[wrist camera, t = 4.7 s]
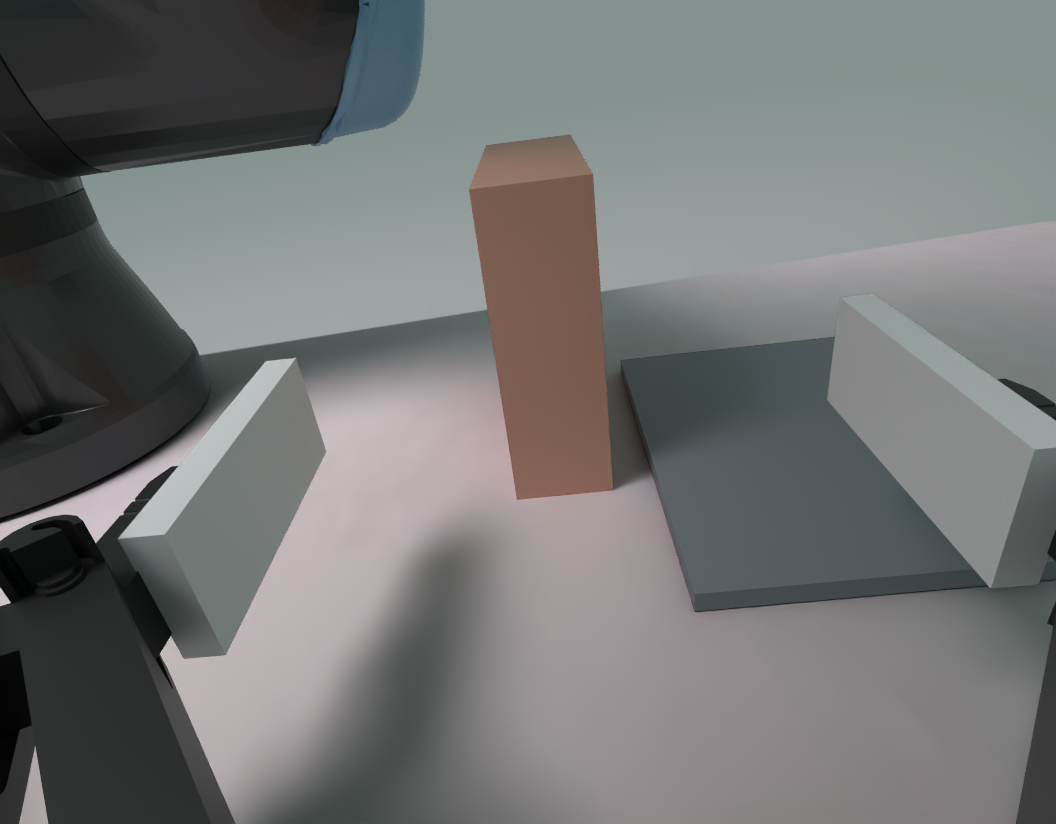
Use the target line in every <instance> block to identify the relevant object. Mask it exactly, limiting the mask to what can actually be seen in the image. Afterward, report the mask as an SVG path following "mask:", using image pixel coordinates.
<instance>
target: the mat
mask: <svg viewBox="0 0 1056 824" xmlns="http://www.w3.org/2000/svg"><path fill="white" fill-rule="evenodd" d="M834 341H835V337H829V338H820V339H810V340H801V341H792V342H783V343H774V344H765V345H755V346H746V347H737V348H728V349H719V350H710V351H701V352H691V353H682V354H673V355H664V356H655V357H646V358H637V359H627V360H621V373H622V377H623V380H624V383H625V386H626V390H627V393H628V396H629V399H630V403H631V406H632V409H633V412H634V416H635V419H636V422H637V425H638V428H639V432H640V435H641V438H642V441H643V445H644V448H645V451H646V454H647V458H648V461H649V464H650V467H651V471H652V474H653V477H654V480H655V484H656V487H657V490H658V493H659V497H660V500H661V503H662V506H663V510H664V513H665V516H666V519H667V523H668V526H669V529H670V532H671V536H672V539H673V542H674V545H675V549H676V552H677V555H678V558H679V562H680V565H681V568H682V571H683V575H684V578H685V581H686V584H687V588H688V591H689V594H690V597H691V601H692V604H693V607H694V610H695V611H705V610H716V609H727V608H738V607H750V606H761V605H772V604H783V603H794V602H806V601H817V600H828V599H839V598H850V597H862V596H873V595H884V594H895V593H906V592H918V591H929V590H940V589H951V588H963V587H974V586H985V585H987V584H986V583H985V581H984V580H983V579H982V578H981V577H980V576H979V574H978V573H977V572H976V571H975V570H974V569H973V568H972V566H971V565H970V564H969V563H968V562H967V561H966V560H965V558H964V557H963V556H962V555H961V554H960V553H959V551H958V550H957V549H956V548H955V547H954V546H953V545H952V543H951V542H950V541H949V540H948V539H947V538H946V536H945V535H944V534H943V533H942V532H941V531H940V530H939V528H938V527H937V526H936V525H935V524H934V523H933V521H932V520H931V519H930V518H929V517H928V516H927V515H926V513H925V512H924V511H923V510H922V509H921V508H920V506H919V505H918V504H917V503H916V502H915V501H914V500H913V498H912V497H911V496H910V495H909V494H908V493H907V492H906V490H905V489H904V488H903V487H902V486H901V485H900V483H899V482H898V481H897V480H896V479H895V478H894V477H893V475H892V474H891V473H890V472H889V471H888V470H887V468H886V467H885V466H884V465H883V464H882V463H881V462H880V460H879V459H878V458H877V457H876V456H875V455H874V453H873V452H872V451H871V450H870V449H869V448H868V447H867V445H866V444H865V443H864V442H863V441H862V440H861V438H860V437H859V436H858V435H857V434H856V433H855V432H854V430H853V429H852V428H851V427H850V426H849V425H848V424H847V422H846V421H845V420H844V419H843V418H842V417H841V415H840V414H839V413H838V412H837V411H836V410H835V409H834V407H833V406H832V405H831V404H830V403H829V402H828V400H827V397H828V389H829V381H830V373H831V365H832V357H833V349H834ZM1052 579H1056V561H1055V560H1053V559H1052V558H1051V557H1050V556H1049V557H1048V560H1047V562H1046V565H1045V568H1044V571H1043V573H1042V576H1041V579H1040V581H1041V580H1052Z"/></svg>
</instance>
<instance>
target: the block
mask: <svg viewBox="0 0 1056 824" xmlns="http://www.w3.org/2000/svg"><path fill="white" fill-rule="evenodd" d="M469 193H470V199H471V205H472V212H473V218H474V224H475V231H476V238H477V244H478V251H479V257H480V263H481V269H482V276H483V283H484V289H485V296H486V302H487V309H488V315H489V321H490V328H491V334H492V341H493V347H494V354H495V360H496V366H497V373H498V379H499V386H500V392H501V399H502V405H503V412H504V418H505V424H506V431H507V437H508V444H509V450H510V457H511V463H512V470H513V476H514V482H515V489H516V495H517V500H519V499H529V498H539V497H549V496H559V495H569V494H579V493H590V492H600V491H610V490H613V478H612V462H611V446H610V431H609V415H608V400H607V384H606V369H605V353H604V338H603V322H602V307H601V291H600V276H599V260H598V245H597V230H596V214H595V199H594V183H593V174H592V172H591V170H590V168H589V166H588V165H587V163H586V161H585V159H584V158H583V156H582V154H581V152H580V151H579V149H578V147H577V146H576V144H575V142H574V140H573V139H572V137H571V135H564V136H555V137H548V138H540V139H532V140H524V141H516V142H509V143H500V144H493V145H486V147H485V150H484V152H483V155H482V157H481V160H480V163H479V165H478V168H477V170H476V173H475V175H474V178H473V180H472V183H471V186H470V188H469Z"/></svg>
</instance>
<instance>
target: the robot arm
mask: <svg viewBox="0 0 1056 824" xmlns="http://www.w3.org/2000/svg"><path fill="white" fill-rule="evenodd" d="M424 4H425V1H424V0H0V518H2V517H5V516H8V515H11V514H14V513H17V512H20V511H23V510H26V509H29V508H32V507H34V506H37V505H40V504H42V503H45V502H48V501H50V500H53V499H55V498H58V497H60V496H63V495H65V494H68V493H70V492H72V491H75V490H77V489H79V488H81V487H84V486H86V485H88V484H90V483H92V482H94V481H97V480H99V479H101V478H103V477H105V476H107V475H109V474H111V473H113V472H115V471H117V470H118V469H120V468H122V467H124V466H126V465H128V464H129V463H131V462H133V461H135V460H136V459H138V458H140V457H141V456H143V455H145V454H146V453H148V452H150V451H151V450H153V449H154V448H156V447H157V446H159V445H160V444H162V443H163V442H165V441H166V440H167V439H169V438H170V437H171V436H173V435H174V434H175V433H176V432H178V431H179V430H180V429H181V428H183V427H184V426H185V425H186V424H187V423H188V422H189V421H190V420H191V419H192V418H193V417H194V416H195V415H196V414H197V413H198V411H199V410H200V409H201V408H202V406H203V405H204V403H205V401H206V400H207V398H208V395H209V392H210V381H209V378H208V376H207V373H206V371H205V368H204V366H203V363H202V361H201V358H200V356H199V354H198V351H197V348H196V347H195V345H194V343H193V341H192V340H191V338H190V337H189V336H188V335H187V333H186V332H185V331H184V330H182V329H181V328H180V327H179V326H178V324H177V323H176V322H175V321H174V319H173V318H172V317H171V316H170V314H169V313H168V312H167V311H166V309H165V308H164V307H163V305H162V304H161V303H160V302H159V301H158V299H157V298H156V297H155V296H154V295H153V293H152V292H151V291H150V290H149V289H148V287H147V286H146V285H145V284H144V283H143V282H142V281H141V279H140V278H139V277H138V276H137V275H136V273H135V272H134V271H133V270H132V269H131V268H130V266H129V265H128V264H127V263H126V262H125V261H124V259H123V258H122V257H121V256H120V255H119V253H118V252H116V250H115V249H114V248H113V247H112V245H111V244H110V242H109V241H108V239H107V237H106V236H105V234H104V232H103V230H102V228H101V226H100V224H99V222H98V219H97V217H96V214H95V212H94V210H93V208H92V205H91V203H90V201H89V198H88V196H87V194H86V191H85V189H84V187H83V184H82V180H81V177H80V176H84V175H90V174H96V173H102V172H110V171H115V170H123V169H130V168H137V167H145V166H151V165H159V164H167V163H174V162H182V161H189V160H196V159H204V158H211V157H218V156H226V155H233V154H241V153H248V152H255V151H262V150H270V149H277V148H285V147H291V146H299V145H307V144H311V145H312V146H320V145H321V144H327V143H329V142H330V141H331V140H333V139H334V138H336V137H340V136H345V135H349V134H354V133H359V132H364V131H368V130H374V129H378V128H383V127H385V126H387V125H389V124H391V123H393V122H394V121H396V120H397V119H398V118H399V117H401V115H403V114H404V113H405V111H406V110H407V109H408V107H409V105H410V103H411V101H412V100H413V97H414V95H415V92H416V89H417V85H418V80H419V76H420V69H421V62H422V54H423V39H424V10H425V9H424V6H425V5H424ZM827 400H828V402H829V403H830V404H831V405H832V406H833V407H834V409H835V410H836V411H837V412H838V413H839V414H840V415H841V417H842V418H843V419H844V420H845V421H846V422H847V424H848V425H849V426H850V427H851V428H852V429H853V430H854V432H855V433H856V434H857V435H858V436H859V437H860V438H861V440H862V441H863V442H864V443H865V444H866V445H867V447H868V448H869V449H870V450H871V451H872V452H873V453H874V455H875V456H876V457H877V458H878V459H879V460H880V462H881V463H882V464H883V465H884V466H885V467H886V468H887V470H888V471H889V472H890V473H891V474H892V475H893V477H894V478H895V479H896V480H897V481H898V482H899V483H900V485H901V486H902V487H903V488H904V489H905V490H906V492H907V493H908V494H909V495H910V496H911V497H912V498H913V500H914V501H915V502H916V503H917V504H918V505H919V506H920V508H921V509H922V510H923V511H924V512H925V513H926V515H927V516H928V517H929V518H930V519H931V520H932V521H933V523H934V524H935V525H936V526H937V527H938V528H939V530H940V531H941V532H942V533H943V534H944V535H945V536H946V538H947V539H948V540H949V541H950V542H951V543H952V545H953V546H954V547H955V548H956V549H957V550H958V551H959V553H960V554H961V555H962V556H963V557H964V558H965V560H966V561H967V562H968V563H969V564H970V565H971V566H972V568H973V569H974V570H975V571H976V572H977V573H978V574H979V576H980V577H981V578H982V579H983V580H984V581H985V583H986V584H987V585H988V586H989V587H990V588H991V589H992V588H1004V587H1015V586H1027V585H1038V584H1039V582H1040V579H1041V576H1042V573H1043V571H1044V568H1045V565H1046V562H1047V560H1048V557H1049V556H1050V557H1051V558H1052V559H1053V560H1055V561H1056V406H1055V403H1053V402H1052V401H1050V400H1049V399H1047V398H1046V397H1044V396H1043V395H1041V394H1040V393H1038V392H1037V391H1035V390H1033V389H1031V388H1028V387H1025V386H1023V385H1020V384H1017V383H1015V382H1012V381H1009V380H1007V379H998V380H997V379H995V378H994V377H992V376H991V375H989V374H988V373H986V372H985V371H984V370H982V369H981V368H979V367H978V366H976V365H975V364H974V363H972V362H971V361H969V360H968V359H966V358H965V357H963V356H962V355H961V354H959V353H958V352H956V351H955V350H953V349H952V348H951V347H949V346H948V345H946V344H945V343H943V342H942V341H940V340H939V339H938V338H936V337H935V336H933V335H932V334H930V333H929V332H928V331H926V330H925V329H923V328H922V327H920V326H919V325H917V324H916V323H915V322H913V321H912V320H910V319H909V318H907V317H906V316H904V315H903V314H902V313H900V312H899V311H897V310H896V309H894V308H893V307H892V306H890V305H889V304H887V303H886V302H884V301H883V300H881V299H880V298H879V297H877V296H876V295H874V294H866V295H857V296H848V297H840V300H839V308H838V316H837V324H836V332H835V341H834V349H833V357H832V365H831V373H830V381H829V389H828V397H827ZM325 453H326V450H325V446H324V443H323V440H322V437H321V434H320V431H319V428H318V425H317V421H316V418H315V415H314V412H313V409H312V406H311V403H310V400H309V397H308V393H307V390H306V387H305V384H304V381H303V378H302V375H301V372H300V368H299V365H298V362H297V359H296V358H290V359H281V360H272V361H266V362H265V363H264V364H263V365H262V366H261V368H260V369H259V370H258V371H257V372H256V374H255V375H254V376H253V377H252V378H251V380H250V381H249V382H248V383H247V384H246V386H245V387H244V388H243V389H242V390H241V392H240V393H239V394H238V395H237V396H236V398H235V399H234V400H233V401H232V402H231V404H230V405H229V406H228V407H227V408H226V410H225V411H224V412H223V413H222V414H221V416H220V417H219V418H218V419H217V420H216V422H215V423H214V424H213V425H212V426H211V428H210V429H209V430H208V431H207V432H206V434H205V435H204V436H203V437H202V438H201V440H200V441H199V442H198V443H197V444H196V446H195V447H194V448H193V449H192V450H191V452H190V453H189V454H188V455H187V456H186V458H185V459H184V460H183V461H182V462H181V464H180V465H179V466H173V467H170V468H169V469H167V470H166V471H165V472H163V473H162V474H160V475H159V476H157V477H156V478H155V479H153V480H152V481H150V482H149V483H148V484H147V485H146V487H145V488H144V489H143V490H142V491H141V492H140V494H139V495H138V496H137V497H136V498H135V502H132V503H131V504H130V505H129V506H128V507H127V508H126V510H125V511H124V512H123V513H124V515H121V516H119V518H118V519H117V520H116V521H115V522H114V523H113V525H112V526H111V527H110V528H109V529H108V530H107V531H106V533H105V534H104V535H103V536H102V537H101V538H100V539H99V541H98V542H97V543H95V541H94V540H93V538H92V536H91V534H90V533H89V531H88V529H87V527H86V526H85V524H84V522H83V521H82V520H81V519H80V518H79V517H78V516H73V515H60V516H53V517H48V518H45V519H42V520H39V521H36V522H33V523H30V524H28V525H26V526H24V527H22V528H20V529H18V530H16V531H14V532H13V533H11V534H10V535H8V536H7V537H5V538H4V539H3V540H1V541H0V588H1V589H2V590H3V592H4V593H5V595H6V596H7V598H8V599H9V600H10V602H11V603H10V604H6V605H3V606H0V824H19V821H20V816H21V811H22V806H23V802H24V797H25V792H26V787H27V782H28V777H29V773H30V768H31V763H32V758H33V753H34V748H35V746H36V752H37V758H38V764H39V770H40V776H41V782H42V788H43V794H44V800H45V805H46V811H47V817H48V823H49V824H235V822H234V820H233V817H232V815H231V813H230V811H229V808H228V806H227V804H226V801H225V799H224V797H223V795H222V792H221V790H220V788H219V785H218V783H217V781H216V778H215V776H214V774H213V772H212V769H211V767H210V765H209V762H208V760H207V758H206V756H205V753H204V751H203V749H202V746H201V744H200V742H199V739H198V737H197V735H196V733H195V730H194V728H193V726H192V723H191V721H190V719H189V717H188V714H187V712H186V710H185V707H184V705H183V703H182V701H181V698H180V696H179V694H178V691H177V689H176V687H175V684H174V682H173V680H172V678H171V675H170V673H169V671H168V668H167V666H166V665H165V663H164V661H163V659H162V658H161V656H160V652H161V651H162V649H163V647H164V646H165V644H166V643H167V641H168V639H169V638H170V636H171V637H172V638H173V640H174V642H175V644H176V646H177V647H178V649H179V651H180V653H181V655H182V657H183V658H184V659H186V658H198V657H209V656H221V655H226V653H227V651H228V649H229V647H230V645H231V643H232V641H233V639H234V637H235V635H236V633H237V631H238V629H239V627H240V625H241V623H242V621H243V619H244V617H245V615H246V613H247V611H248V609H249V607H250V605H251V603H252V601H253V599H254V597H255V595H256V592H257V590H258V588H259V586H260V584H261V582H262V580H263V578H264V576H265V574H266V572H267V570H268V568H269V566H270V564H271V562H272V560H273V558H274V556H275V554H276V552H277V550H278V548H279V546H280V544H281V542H282V540H283V538H284V536H285V534H286V532H287V530H288V528H289V526H290V524H291V522H292V520H293V518H294V516H295V514H296V512H297V510H298V508H299V506H300V504H301V502H302V500H303V498H304V495H305V493H306V491H307V489H308V487H309V485H310V483H311V481H312V479H313V477H314V475H315V473H316V471H317V469H318V467H319V465H320V463H321V461H322V459H323V457H324V455H325ZM1047 624H1050V625H1053V631H1052V636H1051V642H1050V647H1049V652H1048V657H1047V663H1046V668H1045V673H1044V678H1043V684H1042V689H1041V694H1040V699H1039V705H1038V710H1037V715H1036V720H1035V726H1034V731H1033V736H1032V742H1031V747H1030V752H1029V757H1028V763H1027V768H1026V773H1025V778H1024V784H1023V789H1022V794H1021V799H1020V805H1019V810H1018V815H1017V820H1016V824H1056V602H1055V605H1054V607H1053V610H1052V613H1051V615H1050V618H1049V620H1048V623H1047Z"/></svg>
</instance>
